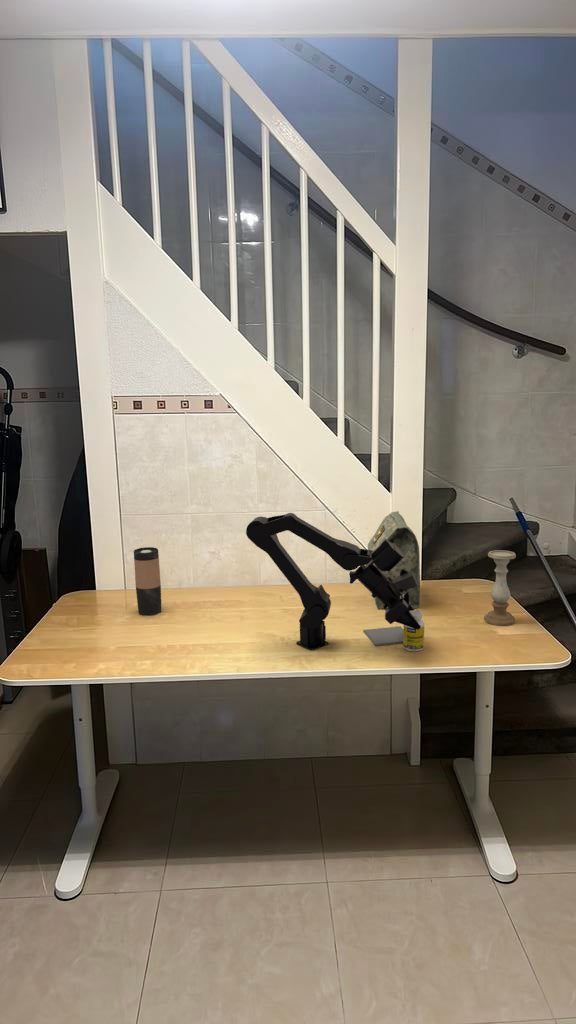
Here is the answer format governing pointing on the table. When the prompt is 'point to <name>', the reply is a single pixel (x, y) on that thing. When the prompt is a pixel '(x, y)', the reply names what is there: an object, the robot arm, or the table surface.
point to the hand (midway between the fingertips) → (419, 624)
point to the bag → (407, 543)
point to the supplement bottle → (414, 634)
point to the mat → (385, 635)
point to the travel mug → (147, 580)
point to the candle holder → (500, 590)
